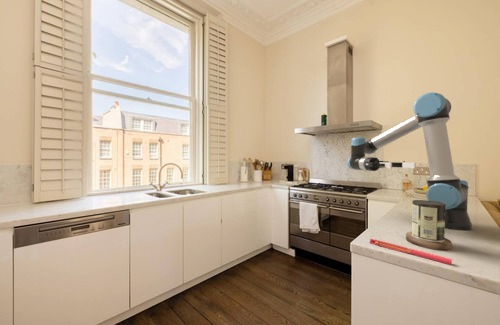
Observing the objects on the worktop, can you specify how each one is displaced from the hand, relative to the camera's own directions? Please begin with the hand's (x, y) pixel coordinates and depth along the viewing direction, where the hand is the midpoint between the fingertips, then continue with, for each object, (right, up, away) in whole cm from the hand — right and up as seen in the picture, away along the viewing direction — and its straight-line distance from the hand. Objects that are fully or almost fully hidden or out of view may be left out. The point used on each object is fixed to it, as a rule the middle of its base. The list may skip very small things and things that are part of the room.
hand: (403, 165), depth 103 cm
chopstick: (-16, -31, -25) cm, 43 cm away
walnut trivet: (-2, -30, -16) cm, 35 cm away
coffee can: (-2, -29, -16) cm, 33 cm away
